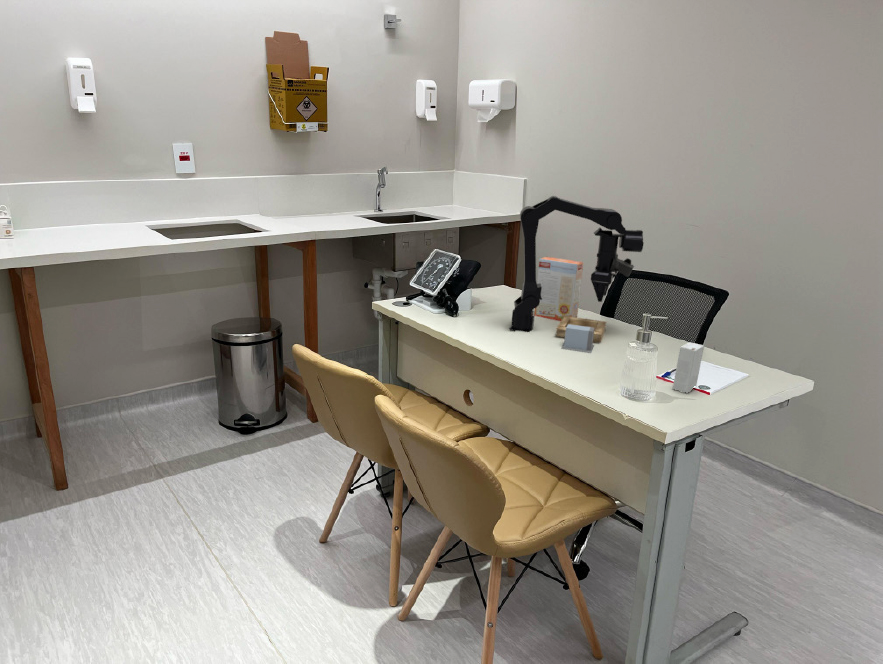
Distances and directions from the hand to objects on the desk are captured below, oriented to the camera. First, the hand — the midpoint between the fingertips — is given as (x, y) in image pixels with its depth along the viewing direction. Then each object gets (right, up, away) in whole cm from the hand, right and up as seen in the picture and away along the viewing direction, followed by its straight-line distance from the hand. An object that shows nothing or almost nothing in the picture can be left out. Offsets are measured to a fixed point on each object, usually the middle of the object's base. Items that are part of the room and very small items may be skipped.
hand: (601, 298), depth 222 cm
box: (-10, -15, -11) cm, 21 cm away
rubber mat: (-10, -16, -11) cm, 21 cm away
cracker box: (-12, -6, +20) cm, 24 cm away
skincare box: (+12, -26, -40) cm, 49 cm away
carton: (-6, -12, +2) cm, 14 cm away
